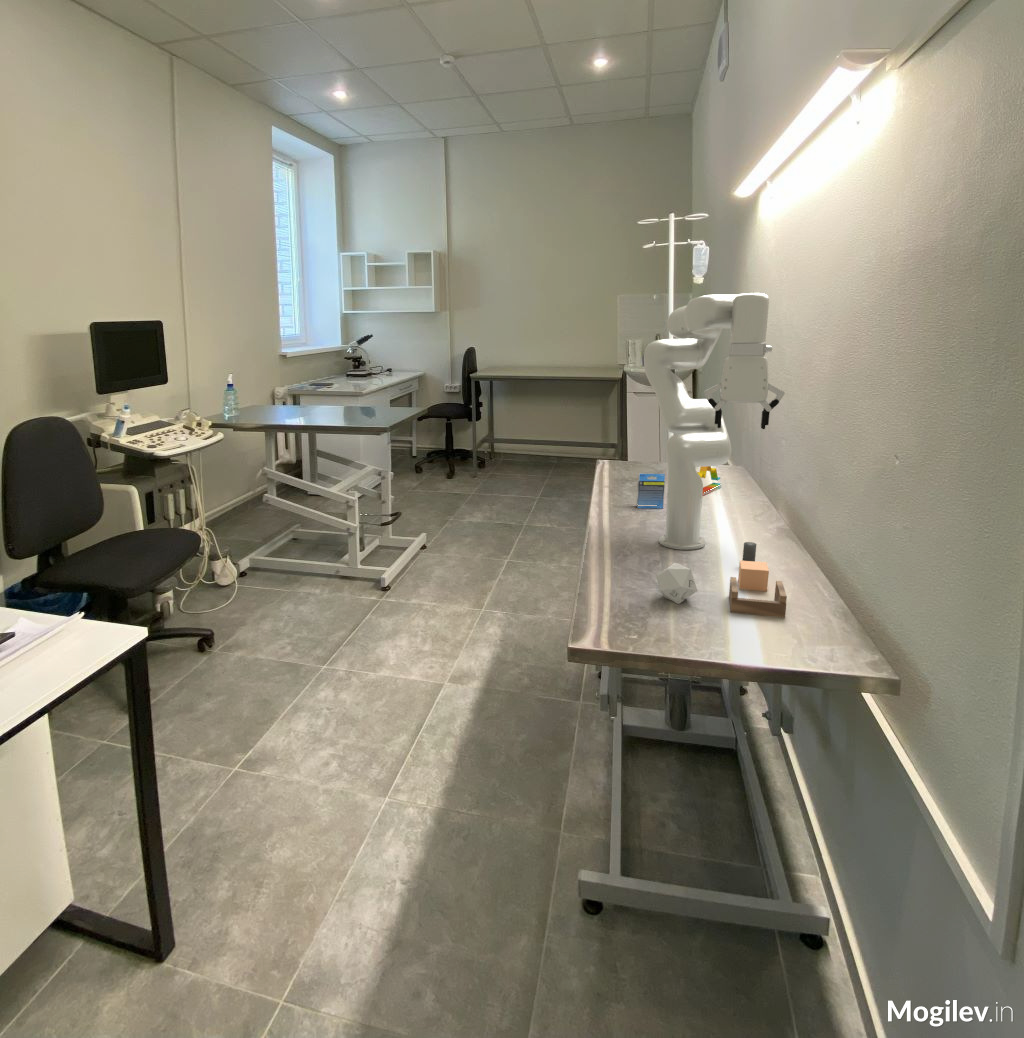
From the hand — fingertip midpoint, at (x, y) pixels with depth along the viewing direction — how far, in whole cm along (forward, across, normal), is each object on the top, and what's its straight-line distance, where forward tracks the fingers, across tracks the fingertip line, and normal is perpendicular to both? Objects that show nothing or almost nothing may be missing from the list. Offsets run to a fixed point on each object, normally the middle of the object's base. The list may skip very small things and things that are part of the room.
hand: (740, 427), depth 151 cm
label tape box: (+36, +24, -64) cm, 77 cm away
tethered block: (+36, -5, -1) cm, 37 cm away
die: (+36, +12, +18) cm, 43 cm away
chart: (+37, +7, -88) cm, 95 cm away
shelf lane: (+36, -5, +18) cm, 41 cm away
